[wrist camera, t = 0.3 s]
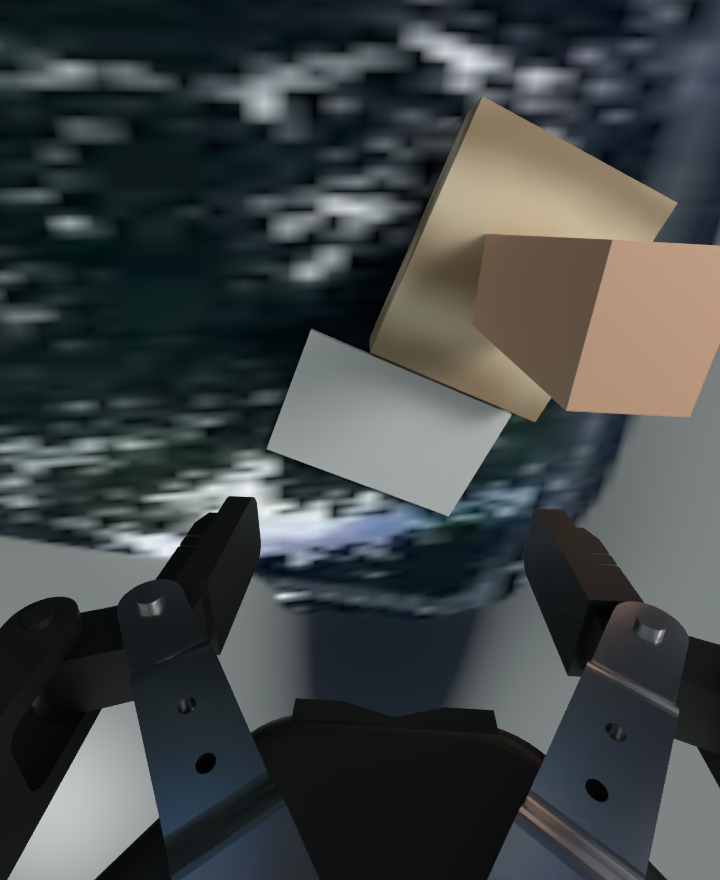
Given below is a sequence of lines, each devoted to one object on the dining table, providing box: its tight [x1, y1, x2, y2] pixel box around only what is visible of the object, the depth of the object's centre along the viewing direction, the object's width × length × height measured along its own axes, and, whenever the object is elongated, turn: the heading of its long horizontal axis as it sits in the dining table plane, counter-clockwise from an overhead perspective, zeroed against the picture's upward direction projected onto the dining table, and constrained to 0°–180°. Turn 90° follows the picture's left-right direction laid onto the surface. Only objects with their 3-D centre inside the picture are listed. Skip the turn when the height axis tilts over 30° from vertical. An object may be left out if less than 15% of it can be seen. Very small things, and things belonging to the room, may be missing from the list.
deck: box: [370, 97, 677, 422], centre depth 28 cm, size 14×12×4 cm
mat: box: [267, 329, 511, 516], centre depth 34 cm, size 10×16×1 cm, turn 67°
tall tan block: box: [472, 234, 720, 417], centre depth 19 cm, size 5×4×14 cm
